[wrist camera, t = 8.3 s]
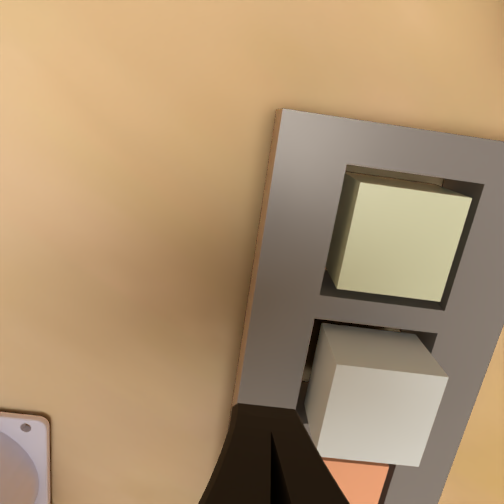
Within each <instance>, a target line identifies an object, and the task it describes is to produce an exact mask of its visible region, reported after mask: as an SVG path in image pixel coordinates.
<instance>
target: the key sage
mask: <svg viewBox="0 0 504 504" xmlns="http://www.w3.org/2000/svg"><path fill="white" fill-rule="evenodd" d="M471 201H472V198H471V197H468V196H465V195H463V194H460V193H457V192H454V191H452V190H449V189H446V188H443V187H441V186H438V185H435V184H429V183H422V182H415V181H408V180H401V179H394V178H387V177H380V176H373V175H366V174H359V173H352V172H345V175H344V180H343V185H342V190H341V194H340V199H339V204H338V209H337V214H336V218H335V223H334V228H333V233H332V238H331V242H330V247H329V252H328V257H327V261H326V266H325V267H326V269H327V271H328V273H329V275H330V277H331V279H332V281H333V282H334V284H335V286H336V288H337V289H343V290H350V291H358V292H366V293H374V294H382V295H390V296H398V297H406V298H414V299H422V300H430V301H438V302H440V301H441V298H442V294H443V291H444V288H445V285H446V281H447V278H448V275H449V272H450V269H451V265H452V262H453V259H454V256H455V252H456V249H457V246H458V243H459V239H460V236H461V233H462V230H463V226H464V223H465V220H466V217H467V214H468V210H469V207H470V204H471Z"/></svg>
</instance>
